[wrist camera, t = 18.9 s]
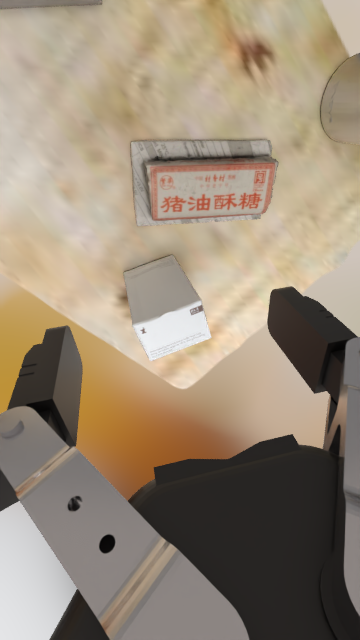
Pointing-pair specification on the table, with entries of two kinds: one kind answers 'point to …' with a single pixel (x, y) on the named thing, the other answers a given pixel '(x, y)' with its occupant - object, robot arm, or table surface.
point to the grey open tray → (45, 3)
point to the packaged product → (201, 180)
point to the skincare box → (165, 308)
